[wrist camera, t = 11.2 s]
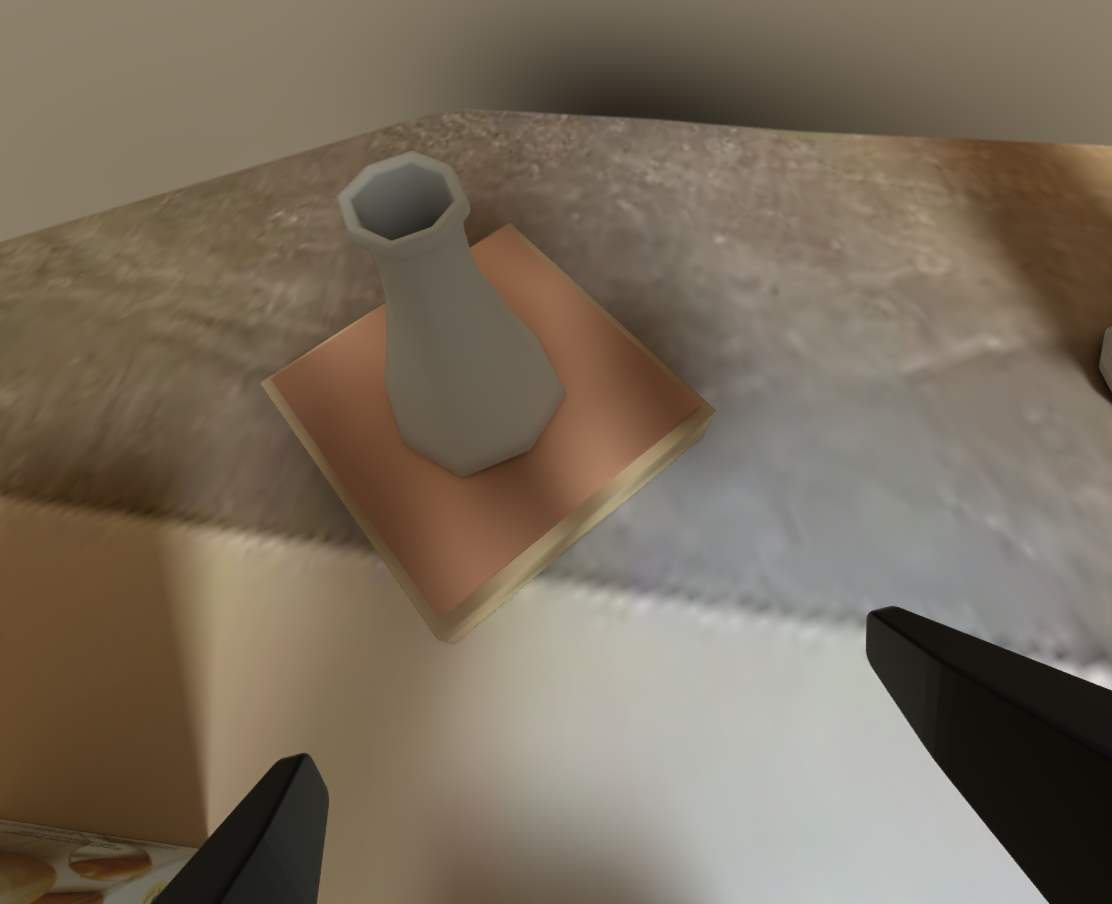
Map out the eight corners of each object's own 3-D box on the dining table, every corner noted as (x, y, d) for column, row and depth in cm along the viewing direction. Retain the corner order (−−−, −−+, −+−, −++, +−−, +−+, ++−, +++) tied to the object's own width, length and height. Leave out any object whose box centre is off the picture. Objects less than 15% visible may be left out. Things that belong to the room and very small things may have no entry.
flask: (459, 511, 21) (357, 373, 11) (357, 390, 23) (205, 195, 14) (598, 398, 22) (607, 197, 13) (489, 296, 25) (432, 65, 15)
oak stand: (454, 644, 21) (434, 638, 19) (289, 410, 26) (254, 378, 23) (702, 436, 25) (717, 405, 22) (515, 260, 29) (508, 215, 26)
